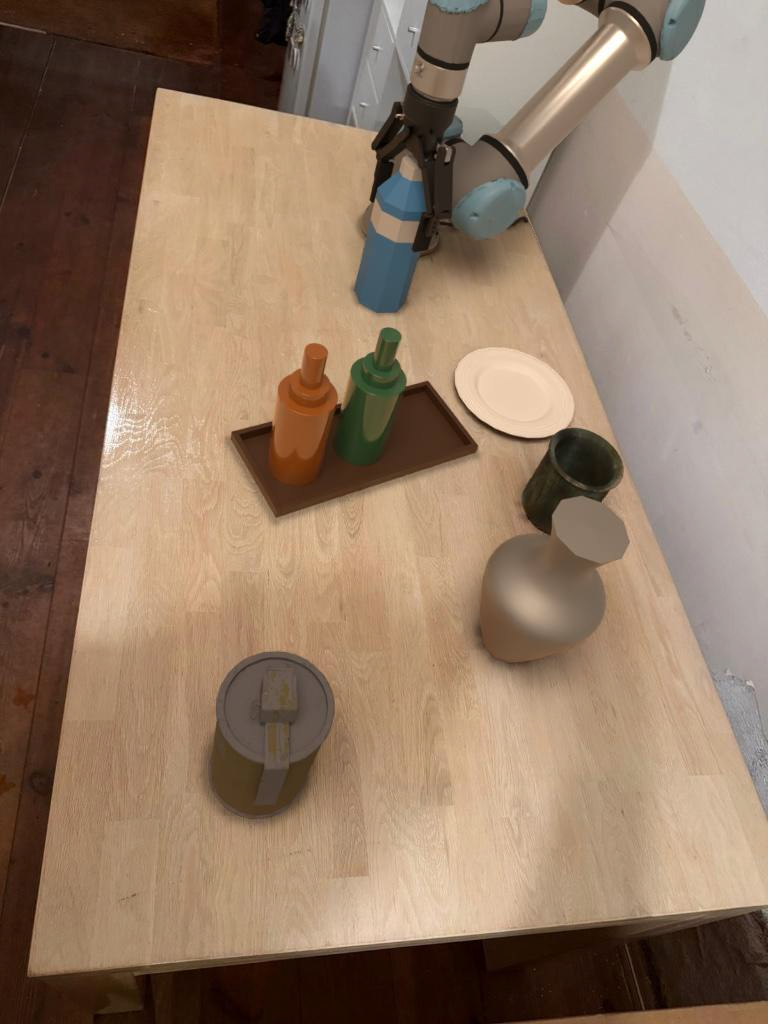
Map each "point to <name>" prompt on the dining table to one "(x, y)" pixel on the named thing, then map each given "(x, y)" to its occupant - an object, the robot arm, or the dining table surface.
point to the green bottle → (370, 402)
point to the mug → (571, 474)
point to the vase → (550, 583)
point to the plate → (514, 392)
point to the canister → (268, 732)
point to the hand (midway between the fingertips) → (397, 224)
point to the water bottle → (392, 240)
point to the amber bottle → (302, 420)
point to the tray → (410, 448)
